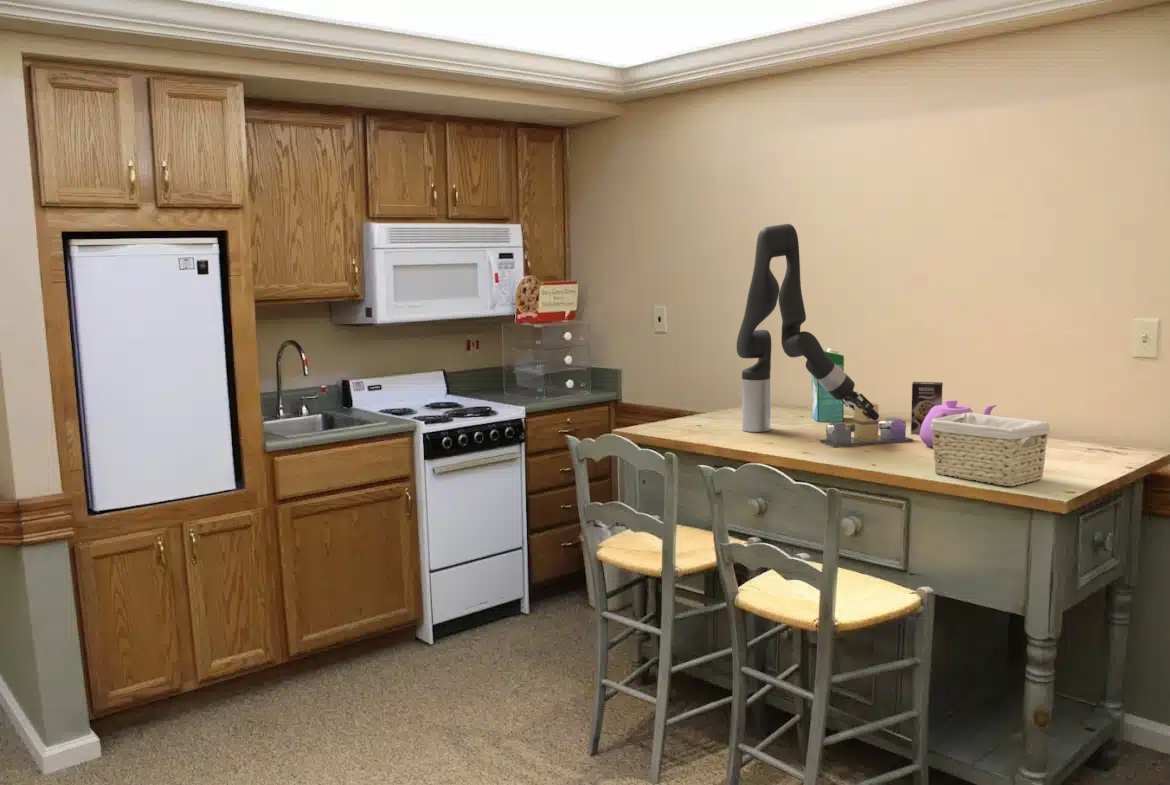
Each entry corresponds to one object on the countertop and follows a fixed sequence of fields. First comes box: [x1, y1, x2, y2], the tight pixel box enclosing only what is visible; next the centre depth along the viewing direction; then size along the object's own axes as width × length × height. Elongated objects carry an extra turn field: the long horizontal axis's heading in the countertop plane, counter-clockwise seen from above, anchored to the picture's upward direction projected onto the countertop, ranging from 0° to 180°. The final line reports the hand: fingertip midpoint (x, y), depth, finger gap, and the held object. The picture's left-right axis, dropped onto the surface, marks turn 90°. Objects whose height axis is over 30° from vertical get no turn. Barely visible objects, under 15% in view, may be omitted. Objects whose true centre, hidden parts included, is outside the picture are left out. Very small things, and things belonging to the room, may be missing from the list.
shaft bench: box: [819, 416, 914, 448], centre depth 291 cm, size 26×9×7 cm, turn 102°
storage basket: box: [931, 412, 1051, 487], centre depth 240 cm, size 24×16×15 cm
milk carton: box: [811, 347, 845, 423], centre depth 332 cm, size 9×9×25 cm
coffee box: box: [910, 381, 944, 435], centre depth 302 cm, size 9×6×16 cm
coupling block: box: [853, 401, 880, 441], centre depth 290 cm, size 5×5×11 cm
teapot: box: [919, 399, 998, 448], centre depth 278 cm, size 22×22×14 cm
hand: (869, 416), depth 290 cm, fingers open, 8 cm apart
